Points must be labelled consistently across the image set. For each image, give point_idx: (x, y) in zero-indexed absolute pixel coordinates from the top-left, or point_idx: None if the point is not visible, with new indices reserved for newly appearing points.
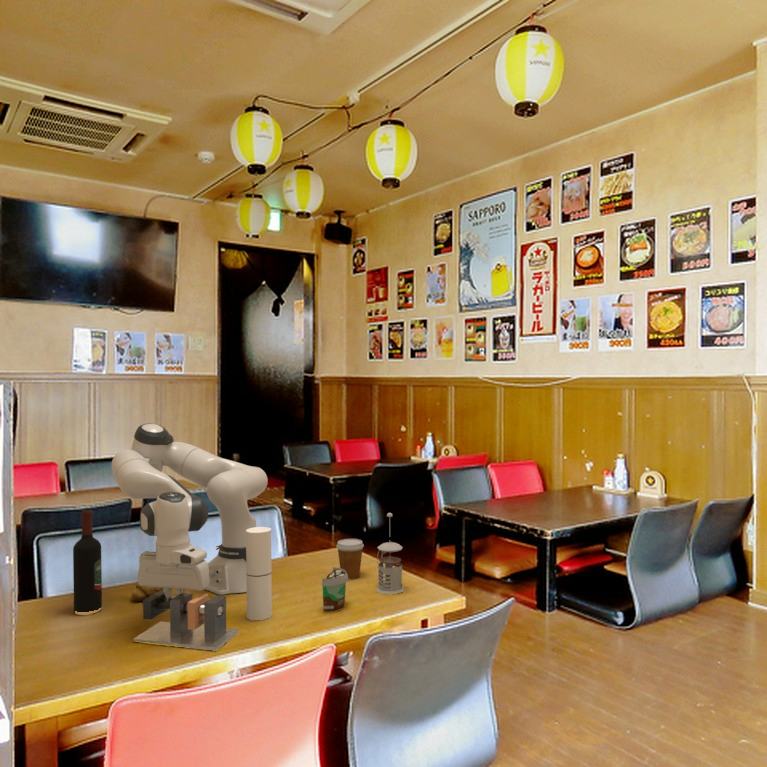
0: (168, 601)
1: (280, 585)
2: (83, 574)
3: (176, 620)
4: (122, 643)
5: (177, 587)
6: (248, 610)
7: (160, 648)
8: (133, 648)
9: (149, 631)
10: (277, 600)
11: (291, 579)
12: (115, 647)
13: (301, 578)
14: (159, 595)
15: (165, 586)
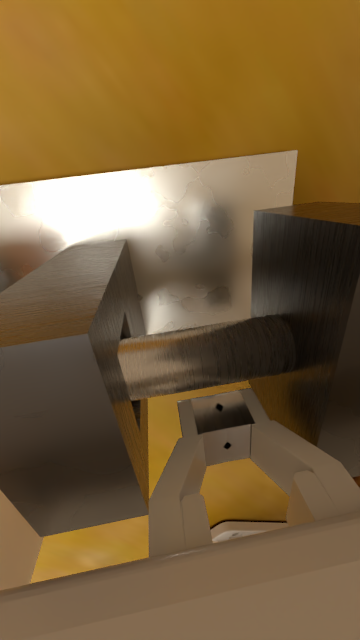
0: (245, 401)
1: None
2: None
3: (62, 266)
4: (335, 123)
5: (151, 587)
6: (8, 505)
7: (106, 138)
8: (245, 80)
9: None
10: (62, 553)
11: None
12: (349, 54)
13: None
14: (339, 404)
15: (349, 543)
